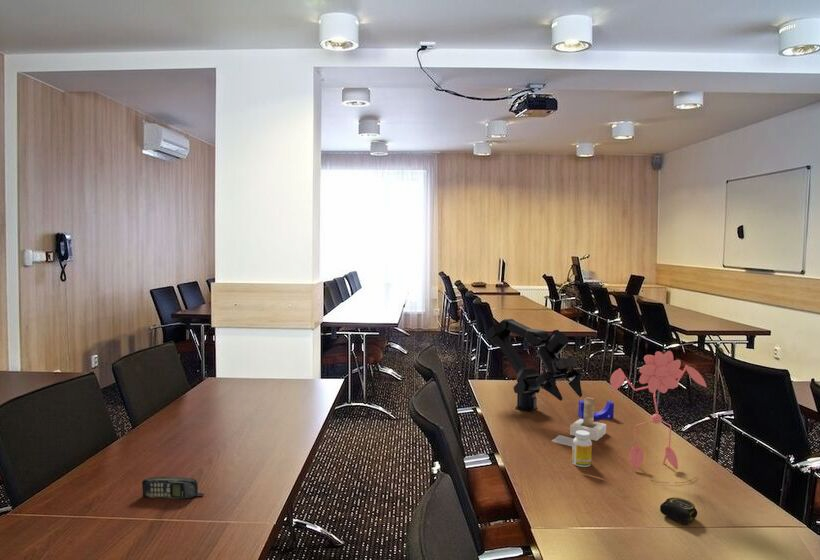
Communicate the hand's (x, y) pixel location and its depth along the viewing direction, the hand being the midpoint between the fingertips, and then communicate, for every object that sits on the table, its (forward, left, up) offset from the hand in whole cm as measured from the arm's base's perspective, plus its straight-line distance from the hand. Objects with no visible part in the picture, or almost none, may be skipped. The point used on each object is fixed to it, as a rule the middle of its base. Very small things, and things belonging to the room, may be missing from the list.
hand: (571, 398), depth 189 cm
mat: (+4, -14, -10) cm, 18 cm away
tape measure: (+44, -44, -11) cm, 63 cm away
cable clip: (+4, +16, -11) cm, 20 cm away
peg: (+7, -3, -10) cm, 13 cm away
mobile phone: (-59, -113, -11) cm, 128 cm away
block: (+7, -3, -10) cm, 13 cm away
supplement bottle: (+14, -28, -11) cm, 33 cm away
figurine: (+33, -20, -11) cm, 40 cm away
